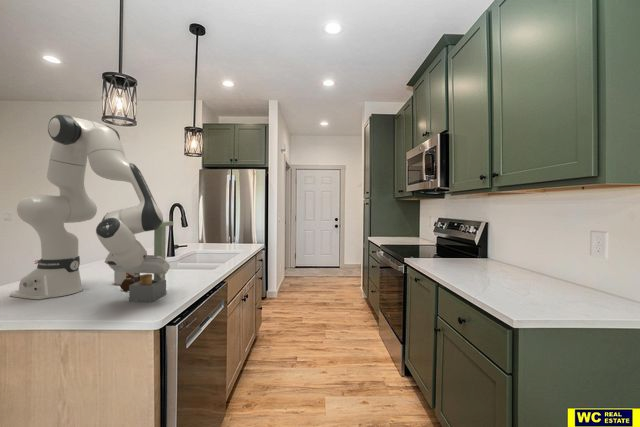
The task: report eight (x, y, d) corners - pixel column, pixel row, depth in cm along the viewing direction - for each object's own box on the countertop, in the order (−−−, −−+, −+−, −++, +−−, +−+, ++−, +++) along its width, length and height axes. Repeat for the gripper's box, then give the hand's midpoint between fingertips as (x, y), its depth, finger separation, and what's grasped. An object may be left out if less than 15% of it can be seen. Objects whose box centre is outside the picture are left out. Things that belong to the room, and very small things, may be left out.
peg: (137, 299, 110) (137, 276, 110) (144, 296, 114) (144, 273, 114) (147, 300, 110) (147, 276, 110) (154, 296, 114) (154, 274, 114)
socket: (129, 301, 108) (129, 285, 108) (144, 293, 117) (144, 279, 117) (152, 301, 108) (152, 286, 108) (166, 294, 117) (166, 279, 117)
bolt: (140, 286, 135) (129, 294, 120) (130, 281, 134) (117, 289, 119) (148, 274, 136) (137, 282, 121) (137, 270, 134) (126, 276, 120)
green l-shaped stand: (130, 299, 110) (131, 222, 109) (149, 290, 122) (150, 220, 121) (156, 300, 110) (157, 223, 109) (173, 291, 122) (173, 221, 121)
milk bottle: (118, 286, 127) (118, 241, 126) (111, 283, 131) (111, 239, 131) (137, 282, 133) (138, 239, 133) (130, 280, 138) (130, 238, 137)
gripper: (164, 249, 104) (178, 270, 114) (109, 247, 105) (128, 268, 115) (156, 263, 100) (171, 284, 110) (99, 261, 101) (120, 282, 111)
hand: (149, 275), depth 113 cm, fingers open, 8 cm apart
